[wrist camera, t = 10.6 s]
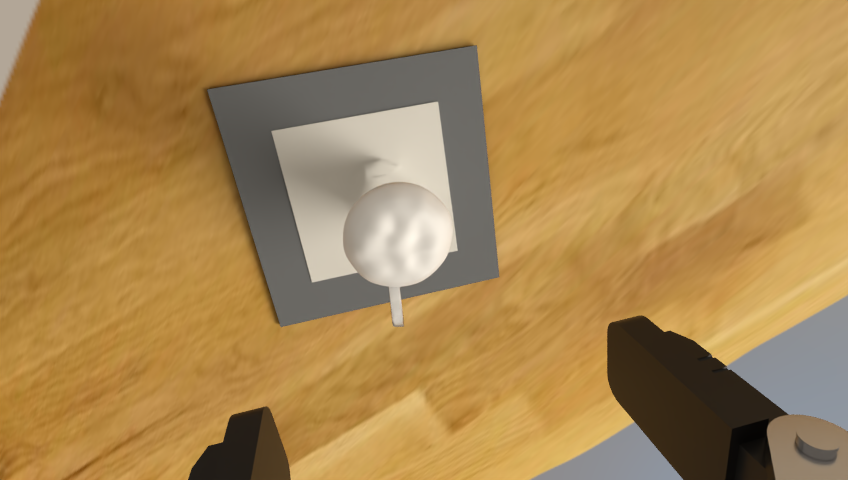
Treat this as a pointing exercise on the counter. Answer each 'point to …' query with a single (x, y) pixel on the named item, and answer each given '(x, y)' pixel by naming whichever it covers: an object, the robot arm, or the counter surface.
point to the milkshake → (394, 230)
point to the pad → (340, 159)
